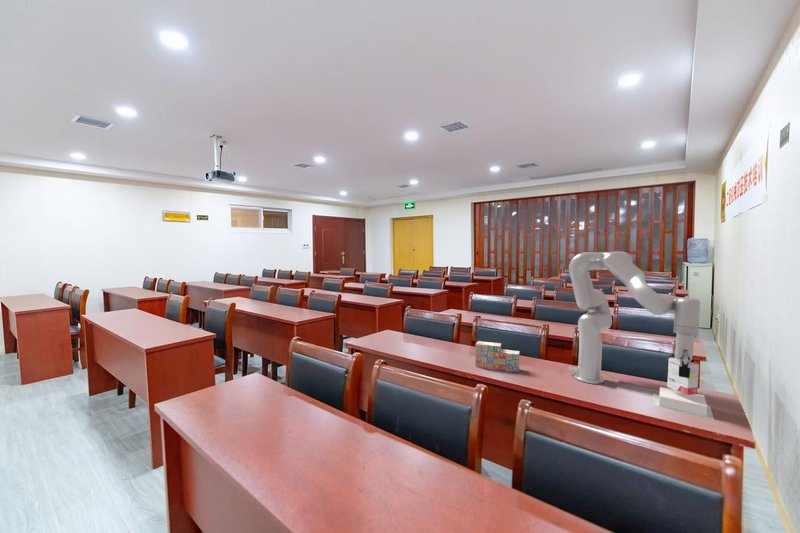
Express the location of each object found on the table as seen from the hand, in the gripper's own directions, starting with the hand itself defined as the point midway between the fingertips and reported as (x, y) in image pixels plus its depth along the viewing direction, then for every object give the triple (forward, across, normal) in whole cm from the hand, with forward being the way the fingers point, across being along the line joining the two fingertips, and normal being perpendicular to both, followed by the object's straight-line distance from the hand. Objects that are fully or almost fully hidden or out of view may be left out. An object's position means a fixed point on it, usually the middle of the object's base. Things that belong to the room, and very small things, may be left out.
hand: (683, 373), depth 138 cm
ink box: (+7, 0, 0) cm, 7 cm away
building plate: (+14, 0, 0) cm, 14 cm away
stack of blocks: (+14, 0, -74) cm, 76 cm away
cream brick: (+13, 0, 0) cm, 13 cm away
